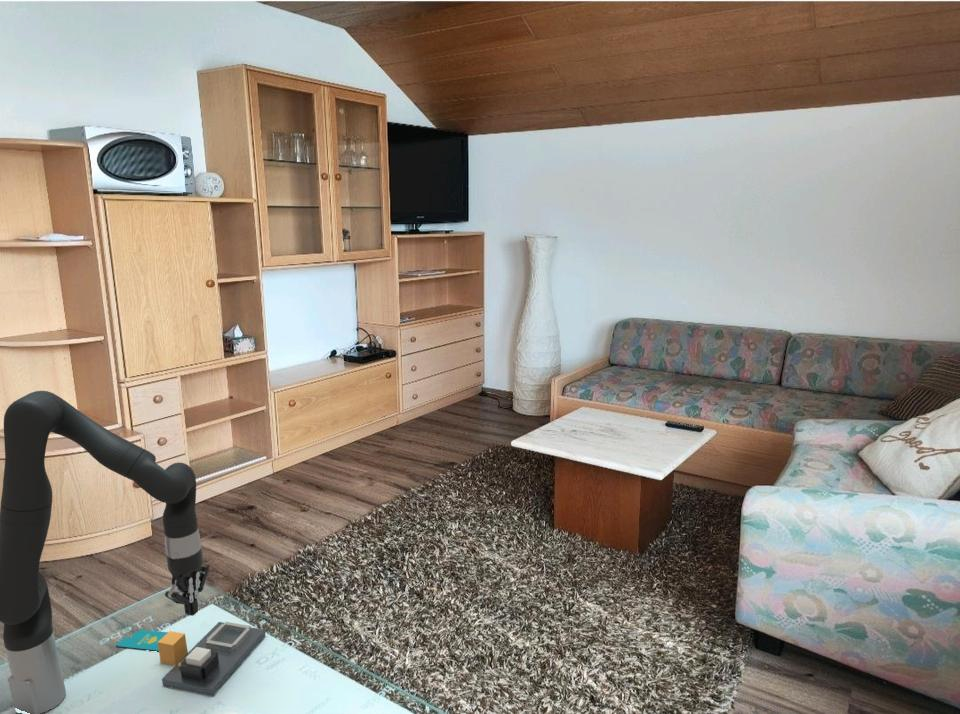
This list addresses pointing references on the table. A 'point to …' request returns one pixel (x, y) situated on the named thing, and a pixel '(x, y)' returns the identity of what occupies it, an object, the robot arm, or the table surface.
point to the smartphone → (142, 640)
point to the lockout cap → (172, 647)
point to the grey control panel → (215, 658)
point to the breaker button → (198, 656)
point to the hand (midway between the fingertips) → (192, 613)
